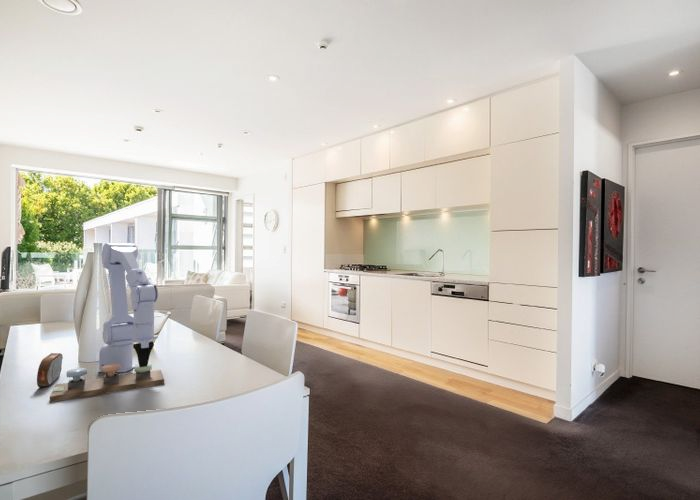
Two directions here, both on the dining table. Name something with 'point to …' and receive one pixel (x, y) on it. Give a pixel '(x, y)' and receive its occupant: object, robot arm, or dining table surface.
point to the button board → (106, 385)
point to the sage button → (142, 368)
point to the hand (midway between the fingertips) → (143, 366)
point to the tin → (49, 369)
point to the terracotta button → (111, 369)
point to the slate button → (76, 373)
